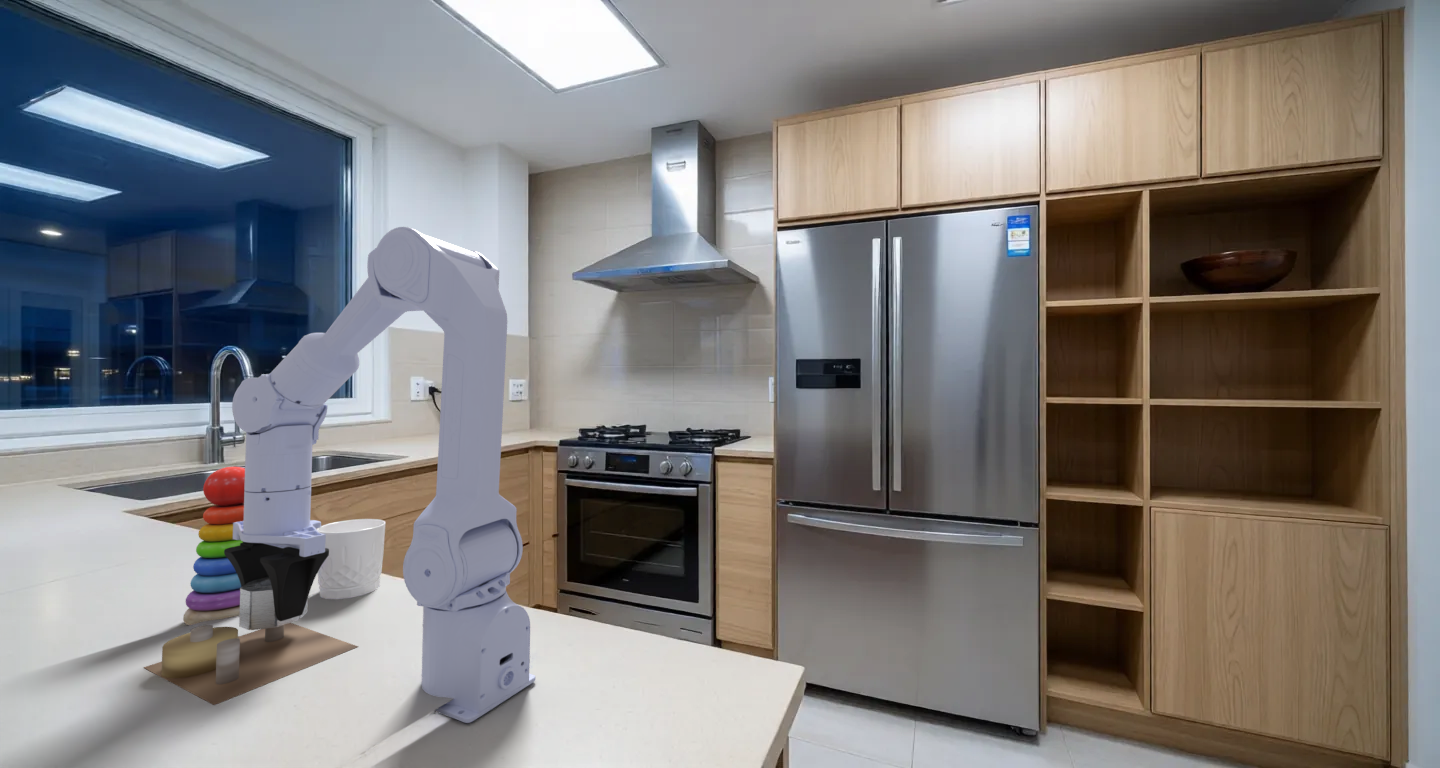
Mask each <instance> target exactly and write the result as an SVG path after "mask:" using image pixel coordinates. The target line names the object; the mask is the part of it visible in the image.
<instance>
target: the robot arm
mask: <svg viewBox="0 0 1440 768" xmlns="http://www.w3.org/2000/svg"><path fill="white" fill-rule="evenodd" d="M367 275H368V276H367V278H366V280H365V281H364V282H363V284H362V285H361V286H360V288H358V291H356V293H355V294H354V295H353V297H352V298H351V299H350V300H349V302H348V303H347V304H346V305H345V307H344V308H343V310H342V311H341V312H340V313H339V314H338V316H337V317H336V319H335V320H334V321H333V322H332V324H331V325H330V327H329V328H328V329H327V330H326V332H311V333H308V334H306V335H303V336H302V337H301V339H300V340H299V341H298V343H297V344H296V345H295V346H294V347H293V348H292V349H291V351H290V352H289V353H288V354H287V355H286V356H285V357H284V358H283V359H281V361H280V362H279V363H278V365H276V367H274V368H273V370H271V372H270V373H266V374H264V373H263V374H262V373H261V375H260V376H258V377H248V378H245V379H243V380H242V381H241V383H240V385H239V386H238V387H237V388H236V391H235V392H234V395H233V398H232V403H231V409H232V410H231V411H232V416H233V420H234V421H235V423H236V425H237V427H239V429H240V430H242V431H243V432H245V456H244V457H245V458H244V468H245V485H244V490H245V491H244V521H240V522H234V523H233V539H234V540H241V541H243V543H240V546H235V547H230V548H227V549H225V550H224V554H225V556H226V557H227V558H228V559H229V561H230V562H231V564H232V565H233V567H234V569H235V571H236V573H237V575H238V578H239V580H240V584H241V587H242V586H244V585H245V584H247V583H248V582H251V581H253V580H257V579H261V578H265V577H269V579H270V582H271V586H272V590H273V598H274V608H275V613H276V617H277V619H278V620H279V621H284V620H287V619H290V618H293V617H297V616H300V615H302V614H303V611H304V608H305V605H306V602H307V599H308V600H309V595H310V592H311V590H312V586H313V584H314V581H315V579H316V576H318V571H319V569H320V567H321V566H322V564H323V563H324V561H325V560H326V558H327V557H328V556H329V549H328V548H325V539H326V535H325V534H322V533H319V532H318V530H317V528H320V527H321V526H322V522H321V521H320V520H315V519H311V513H312V512H311V508H312V507H311V505H312V472H313V470H312V469H313V467H312V466H313V445H316V444H317V441H318V440H319V435H320V434H319V431H320V428H321V425H322V424H323V422H324V421H325V418H326V417H327V413H328V404H326V402H327V401H328V400H329V399H330V398H331V397H332V396H333V395H334V394H335V393H336V392H337V391H338V390H339V389H340V388H341V387H342V386H343V385H344V384H345V383H346V382H347V381H348V380H349V379H350V378H351V377H352V376H353V375H354V373H356V372H357V371H358V370H359V366H360V358H359V354H358V353H360V352H361V351H362V350H363V349H364V348H366V346H368V345H369V344H370V343H371V342H372V341H373V340H374V339H376V337H378V336H379V335H381V334H382V333H383V332H384V331H385V330H386V329H387V328H388V327H390V326H391V325H392V324H393V323H394V322H396V320H398V319H399V318H401V316H402V315H404V314H405V313H407V312H418V311H419V312H420V311H423V312H424V313H426V315H428V316H427V317H429V318H430V319H431V320H432V321H434V323H435V324H436V325H437V326H438V327H439V328H440V329H441V330H442V331H443V333H444V336H443V356H442V371H441V372H442V374H441V391H440V392H441V393H440V394H441V395H440V397H441V398H440V409H439V410H440V411H439V412H440V413H439V414H440V415H439V416H440V417H439V431H438V433H439V434H438V450H437V451H438V452H437V472H436V487H435V488H436V491H435V497H433V499H432V500H431V502H430V503H429V504H428V505H427V506H426V507H425V509H423V511H422V512H421V514H419V516H418V517H417V518H416V519H415V521H414V522H413V530H412V531H413V533H412V534H413V535H412V539H411V543H410V545H409V547H408V549H407V550H406V553H405V556H404V559H403V563H402V566H403V567H402V575H403V582H404V584H405V586H406V588H407V590H408V592H409V594H410V596H411V597H412V598H413V599H414V600H415V601H416V605H417V606H418V607H419V606H420V607H423V608H422V612H423V613H422V642H421V643H422V646H421V647H422V650H421V651H422V653H421V655H422V656H421V688H422V690H423V691H424V693H426V694H427V695H431V696H433V697H438V698H447V699H451V700H450V701H448V702H446V703H444V704H442V705H441V706H439V707H437V708H436V709H434V710H433V711H435V712H438V713H440V714H442V715H445V716H447V717H450V718H452V719H455V720H456V721H457V720H458V721H460V722H462V723H464V724H470V723H473V722H474V721H476V720H477V719H479V718H480V717H482V716H483V715H485V714H486V713H488V712H490V711H491V710H493V709H494V708H496V707H498V706H499V705H500V704H502V703H504V702H505V701H507V700H509V698H511V697H513V696H514V695H516V694H518V693H519V692H521V691H522V690H524V689H525V688H526V687H528V686H530V685H531V684H534V682H536V675H535V674H532V673H530V662H531V661H530V657H531V656H530V655H531V654H530V653H531V647H530V646H531V619H530V616H529V614H528V612H527V610H526V609H525V608H524V607H523V606H521V605H519V604H517V603H516V602H514V601H513V600H512V599H511V597H509V594H508V592H507V586H508V585H510V583H511V573H513V571H515V569H517V567H518V565H519V564H520V562H521V559H522V556H523V548H524V545H523V539H522V535H521V533H520V531H519V528H518V524H517V507H516V506H515V505H514V504H513V503H512V502H510V501H509V500H507V499H506V498H504V496H502V495H501V494H500V492H499V491H500V477H501V475H500V473H501V458H502V457H501V455H502V435H503V416H504V415H503V414H504V398H505V397H504V395H505V394H504V392H505V378H506V375H505V374H506V361H507V360H506V359H507V358H506V356H507V354H506V353H507V340H508V339H507V337H508V314H507V310H506V306H505V305H504V302H503V298H502V295H501V293H500V290H499V289H500V288H499V287H500V269H499V268H498V267H497V266H496V265H495V264H493V263H492V262H491V261H490V260H489V259H488V258H487V257H486V256H484V255H483V254H482V253H480V252H478V251H475V250H469V249H465V248H463V247H460V246H458V245H455V244H452V243H449V242H446V241H443V240H441V239H438V238H435V237H434V236H433V237H432V236H429V235H427V234H424V233H422V232H420V231H418V230H416V229H415V228H412V227H408V226H399V227H395V228H393V229H391V230H389V231H388V232H386V233H385V234H384V235H383V236H382V238H381V239H380V240H379V242H378V244H377V245H376V248H374V249H373V250H371V251H370V252H369V254H368V257H367Z"/></svg>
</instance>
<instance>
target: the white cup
mask: <svg viewBox="0 0 1440 768" xmlns="http://www.w3.org/2000/svg"><path fill="white" fill-rule="evenodd" d="M316 529H317V530H318V532H319V533H322V534H325V535H326V539H325V548H328V549H329V556H328V557H327V558H326V560H325V561H324V563H323V564H322V566H321V567H320V569H319V571H318V573H317V583H318V585H319V587H318V588H319V598H322V599H324V600H342V599H351V598H357V597H361V596H365V595H367V594H369V593H371V592H375V591H376V590H377V589H379V587H380V586H381V585H380V584H381V575H382V573H383V572H382V571H383V559H384V551H385V550H384V548H385V534H386V520H383V519H378V518H359V519H356V518H355V519H348V520H341V521H335V522H330V523H326V524H323V525H321V527H320V528H316Z"/></svg>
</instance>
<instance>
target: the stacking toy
mask: <svg viewBox="0 0 1440 768" xmlns="http://www.w3.org/2000/svg"><path fill="white" fill-rule="evenodd" d="M244 485H245V467H242V466H226V467H222V468H219V469H217V470H215V471H213V472H212V473H211V474H210V475H209V476H207V478H206V480H205V481H204V484H203V487H202V489H203V494H204V497H205V498H206V500H207V501H208V502H209V503H211V504H212V505H214V506H210V507H208V508H206V510H204V512H203V515H202V519H203V521H204V522H205V523H207V524H204V525H203V526H202V527H201V528H199V530H198V537H199V539H200V540H202V541H201V542H199V543H198V545H197V546H196V548H195V552H196V554H197V556H199V557H198V558H197V559H196V560H195V561H194V563H193V567H192V568H193V571H194V572H195V575H194V576H193V577H192V578H191V580H190V588H191V590H192V591H190V592H189V593H188V595H187V596H186V598H185V605H186V607H187V609H186V611H185V612H184V613H183V618H182V620H183V622H184V623H185V624H186V625H187V626H192V625H195V624H199V623H203V622H206V621H207V622H208V621H217V620H222V619H227V618H234V617H236V616H240V588H241V584H240V580H239V578H238V575H237V573H236V571H235V569H234V567H233V565H232V564H231V562H230V561H229V559H228V558H227V557H226V556H225V554H224V550H225V549H227V548H230V547H235V546H240V543H243V541H241V540H234V539H233V523H234V522H240V521H244V491H245V490H244Z"/></svg>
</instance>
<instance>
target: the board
mask: <svg viewBox="0 0 1440 768" xmlns="http://www.w3.org/2000/svg"><path fill="white" fill-rule="evenodd" d="M161 647H162V649H161V661H158V662H156V663H153V664H149V665H146V666H144V667H143V669H145V670H147V671H149V672H151V673H153V674H155V675H156V676H157V677H160V678H162V679H164V680H166V681H167V682H170V683H171V684H172V685H175V686H177V687H179V688H181V689H182V690H185V691H187V693H191V694H192V695H194V696H196V697H197V698H199V699H201V700H204V702H207V703H209V704H211V705H213V706H216V705H218V704H221V703H224V702H226V701H228V700H230V699H234V698H236V697H238V696H241V695H243V694H245V693H248V692H251V691H253V690H256V689H258V688H261V687H263V686H265V685H268V684H270V683H273V682H275V681H278V680H280V679H283V678H285V677H288V676H290V675H293V674H295V673H298V672H301V671H303V670H305V669H308V668H309V667H313V666H315V665H318V664H320V663H323V662H325V661H327V660H330V659H333V658H334V657H337V656H339V655H343V654H344V653H347V652H350V651H352V650H355V649H356V648H359V645H356V644H352V643H349V642H347V641H344V640H341V639H338V638H335V637H333V636H329V635H327V634H324V633H321V632H318V631H315V630H312V629H310V628H308V627H307V628H306V627H304V626H301V625H298V624H295V623H294V622H291V623H288V624H285V625H282V626H279V627H275V628H267V629H258V630H253V631H251V632H248V633H245V634H243V635H239V629H238V628H236V627H235V626H233V627H232V626H216V627H214V626H213V624H203V625H199V626H197V627H194V628H192V629H190V632H188V633H184V634H181V635H179V636H177V637H173V638H171V639H170V640H168V641H166V642H164V644H163V645H162V646H161Z"/></svg>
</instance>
